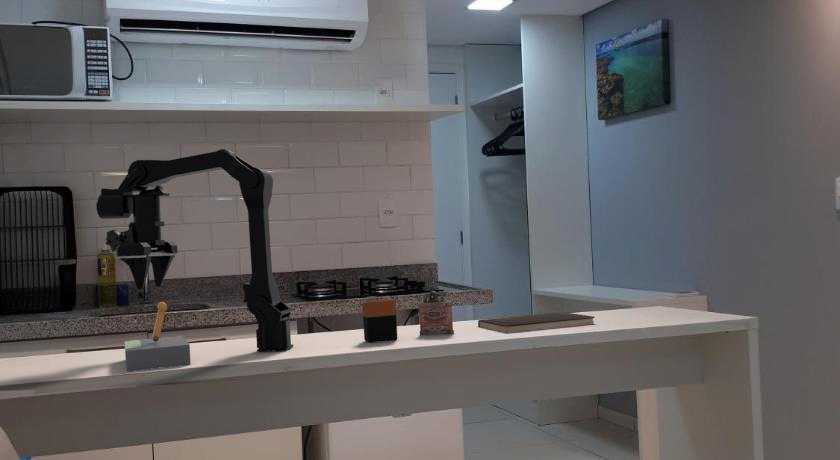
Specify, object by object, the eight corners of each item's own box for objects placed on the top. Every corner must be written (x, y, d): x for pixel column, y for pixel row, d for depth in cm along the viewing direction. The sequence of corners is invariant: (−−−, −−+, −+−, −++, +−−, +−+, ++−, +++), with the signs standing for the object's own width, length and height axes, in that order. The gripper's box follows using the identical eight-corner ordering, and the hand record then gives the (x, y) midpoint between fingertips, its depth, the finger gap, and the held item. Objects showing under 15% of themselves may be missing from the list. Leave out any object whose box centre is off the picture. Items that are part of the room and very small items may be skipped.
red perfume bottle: (418, 335, 185) (415, 292, 185) (421, 333, 188) (419, 291, 188) (452, 334, 183) (449, 291, 183) (455, 332, 187) (452, 289, 187)
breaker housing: (183, 353, 177) (182, 334, 177) (190, 364, 160) (189, 343, 160) (125, 359, 172) (124, 340, 172) (126, 371, 155) (125, 349, 156)
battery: (363, 341, 181) (361, 296, 181) (392, 338, 183) (390, 294, 183) (368, 343, 177) (366, 298, 177) (398, 340, 179) (395, 295, 179)
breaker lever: (158, 340, 168) (167, 303, 169) (159, 342, 165) (168, 304, 165) (150, 339, 167) (158, 301, 168) (150, 341, 164) (159, 302, 165)
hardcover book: (595, 326, 189) (594, 316, 189) (506, 335, 181) (506, 325, 181) (561, 320, 204) (560, 311, 204) (478, 329, 196) (477, 319, 196)
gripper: (131, 219, 187) (133, 286, 187) (90, 218, 169) (93, 292, 169) (177, 217, 186) (179, 284, 186) (141, 216, 168) (144, 290, 168)
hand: (149, 288), depth 177 cm, fingers open, 9 cm apart
